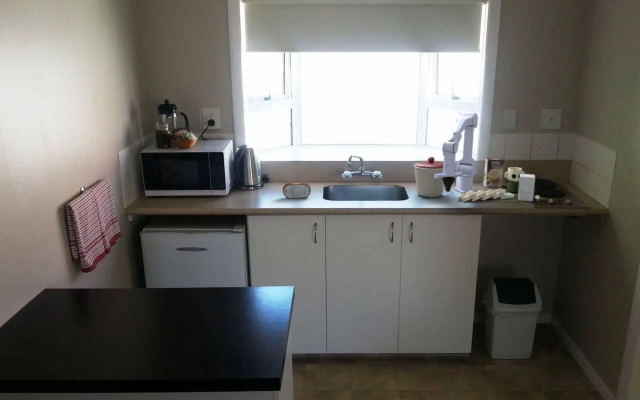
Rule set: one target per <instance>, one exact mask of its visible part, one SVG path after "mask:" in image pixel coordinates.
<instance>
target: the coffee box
mask: <svg viewBox="0 0 640 400" xmlns="http://www.w3.org/2000/svg"><path fill="white" fill-rule="evenodd" d="M484 160H485V163H484V171H483V172H484V174H483V183H482V185H483V186H484V187H485V188H502V186H503V185H502V184H503V174H504V166H505V165H504V164H505V159H504V158H502V157H485V159H484Z"/></svg>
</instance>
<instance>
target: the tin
mask: <svg viewBox="0 0 640 400" xmlns="http://www.w3.org/2000/svg"><path fill="white" fill-rule="evenodd" d="M311 191H312V189H311V186H310V185H309V184H308V183H307V182H286V184H284V186H283V187H282V193H283V196H284V197H285V198H287V199H289V198H295V199H306V198H308V197H309V196H310V195H311Z"/></svg>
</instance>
